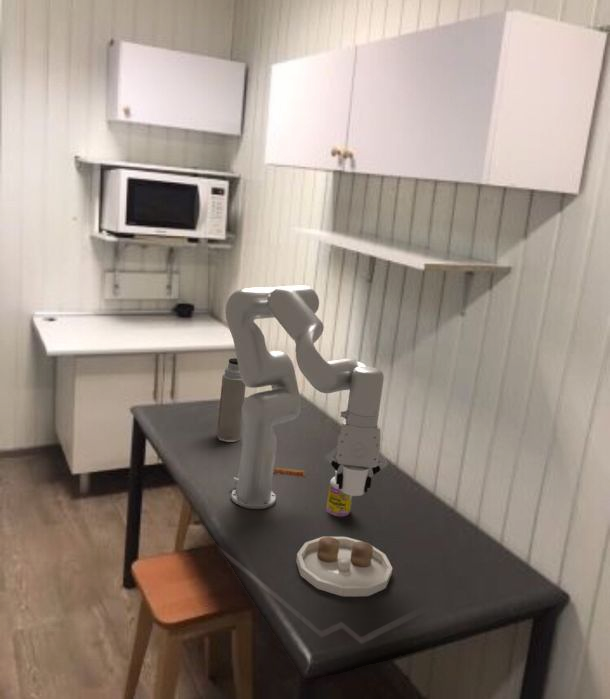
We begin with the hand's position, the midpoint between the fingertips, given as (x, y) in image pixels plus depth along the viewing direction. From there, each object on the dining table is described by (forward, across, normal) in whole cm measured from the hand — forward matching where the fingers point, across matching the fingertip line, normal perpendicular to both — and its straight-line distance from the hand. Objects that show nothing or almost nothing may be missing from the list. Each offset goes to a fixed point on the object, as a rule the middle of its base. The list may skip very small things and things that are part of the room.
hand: (352, 487), depth 168 cm
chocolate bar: (+18, -18, +42) cm, 49 cm away
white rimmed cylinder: (+1, 0, 0) cm, 1 cm away
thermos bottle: (+17, -39, +65) cm, 78 cm away
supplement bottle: (+18, -2, +21) cm, 27 cm away
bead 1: (+17, -4, -4) cm, 18 cm away
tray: (+18, 0, -8) cm, 20 cm away
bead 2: (+17, +4, -4) cm, 18 cm away
